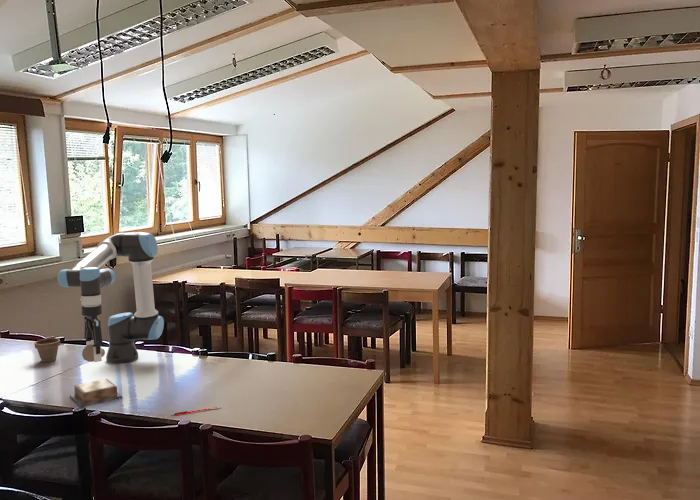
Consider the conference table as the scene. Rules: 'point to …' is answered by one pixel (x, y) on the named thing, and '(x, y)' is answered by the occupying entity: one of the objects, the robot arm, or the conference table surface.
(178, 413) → the pen
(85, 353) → the beige stepped cylinder
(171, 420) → the conference table surface
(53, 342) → the flower pot
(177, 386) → the conference table surface
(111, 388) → the plinth
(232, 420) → the conference table surface
